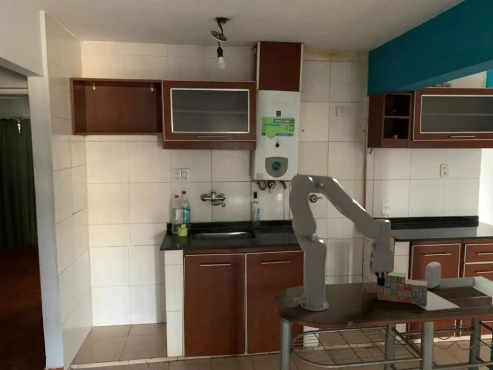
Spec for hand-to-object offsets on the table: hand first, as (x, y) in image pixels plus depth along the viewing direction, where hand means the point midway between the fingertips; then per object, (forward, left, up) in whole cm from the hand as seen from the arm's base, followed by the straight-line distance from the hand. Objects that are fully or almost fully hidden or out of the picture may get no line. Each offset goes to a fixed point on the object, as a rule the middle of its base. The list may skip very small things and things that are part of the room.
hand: (380, 285), depth 173 cm
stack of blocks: (+11, 0, -8) cm, 14 cm away
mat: (+23, 0, -8) cm, 24 cm away
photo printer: (+39, +15, -8) cm, 42 cm away
